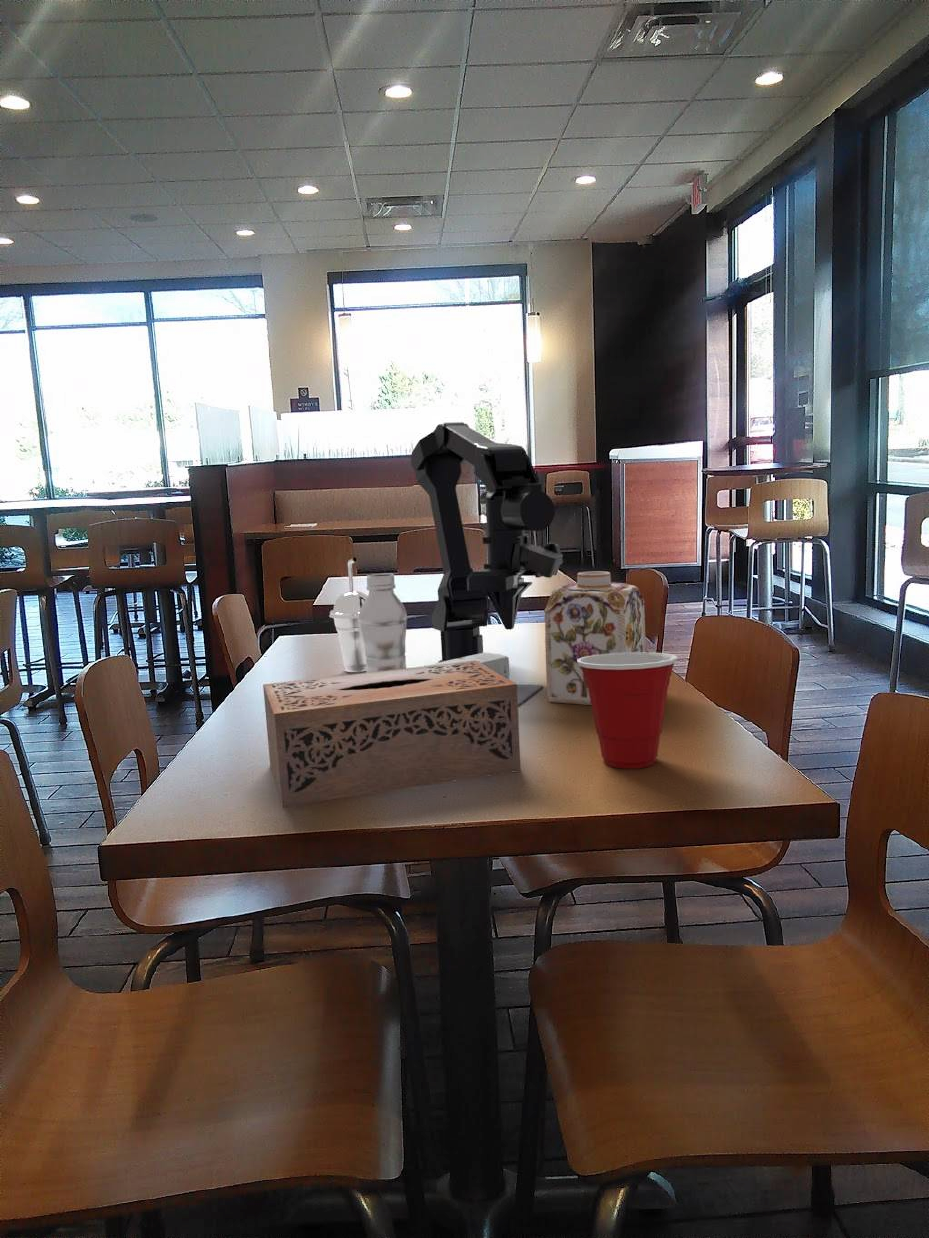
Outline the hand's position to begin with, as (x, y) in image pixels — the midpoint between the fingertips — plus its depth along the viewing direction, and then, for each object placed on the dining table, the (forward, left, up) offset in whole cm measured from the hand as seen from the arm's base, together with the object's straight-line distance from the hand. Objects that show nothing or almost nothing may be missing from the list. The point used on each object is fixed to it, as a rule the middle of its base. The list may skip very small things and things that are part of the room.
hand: (509, 629), depth 139 cm
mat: (0, -10, -8) cm, 13 cm away
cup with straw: (-30, +4, -9) cm, 31 cm away
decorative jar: (+16, -6, -9) cm, 19 cm away
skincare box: (-2, -1, -6) cm, 6 cm away
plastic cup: (+26, -34, -9) cm, 44 cm away
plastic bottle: (-8, -26, -9) cm, 29 cm away
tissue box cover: (+1, -43, -9) cm, 44 cm away
